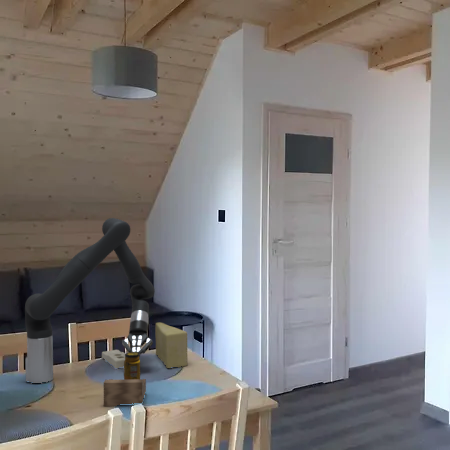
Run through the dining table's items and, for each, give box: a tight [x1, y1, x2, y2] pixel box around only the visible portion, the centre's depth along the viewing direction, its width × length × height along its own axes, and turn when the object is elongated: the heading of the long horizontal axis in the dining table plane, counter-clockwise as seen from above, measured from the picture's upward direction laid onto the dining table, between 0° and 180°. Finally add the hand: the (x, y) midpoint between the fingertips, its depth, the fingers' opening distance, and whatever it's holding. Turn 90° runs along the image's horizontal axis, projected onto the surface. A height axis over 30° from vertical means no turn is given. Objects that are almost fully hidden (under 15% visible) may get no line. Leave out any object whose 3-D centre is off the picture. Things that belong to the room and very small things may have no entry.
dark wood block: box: [103, 378, 147, 407], centre depth 178 cm, size 13×10×8 cm
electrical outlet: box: [101, 349, 126, 368], centre depth 219 cm, size 7×4×18 cm
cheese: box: [154, 321, 189, 369], centre depth 221 cm, size 22×10×15 cm, turn 30°
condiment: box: [123, 351, 141, 380], centre depth 191 cm, size 7×8×12 cm
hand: (135, 362), depth 202 cm, fingers closed
